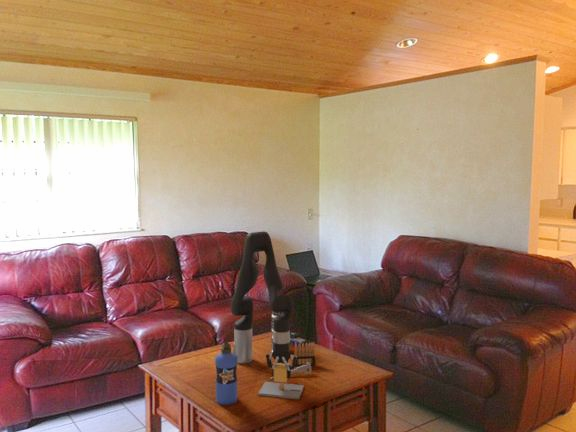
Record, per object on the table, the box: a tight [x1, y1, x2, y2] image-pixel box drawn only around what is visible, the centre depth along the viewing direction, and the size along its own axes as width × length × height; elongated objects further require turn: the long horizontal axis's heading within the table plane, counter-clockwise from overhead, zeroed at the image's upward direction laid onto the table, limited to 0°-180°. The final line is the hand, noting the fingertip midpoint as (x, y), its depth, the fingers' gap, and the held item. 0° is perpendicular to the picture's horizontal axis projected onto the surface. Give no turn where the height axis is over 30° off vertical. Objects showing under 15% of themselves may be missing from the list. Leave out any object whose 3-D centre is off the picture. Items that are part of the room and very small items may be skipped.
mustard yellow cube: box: [273, 363, 289, 383], centre depth 220 cm, size 6×6×6 cm
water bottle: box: [214, 341, 238, 406], centre depth 211 cm, size 9×9×25 cm
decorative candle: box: [270, 310, 281, 353], centre depth 269 cm, size 9×9×25 cm
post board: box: [257, 381, 305, 400], centre depth 220 cm, size 18×12×6 cm, turn 78°
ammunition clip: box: [293, 341, 316, 368], centre depth 249 cm, size 11×2×12 cm, turn 98°
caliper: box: [270, 362, 312, 380], centre depth 236 cm, size 20×1×6 cm, turn 108°
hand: (281, 377), depth 220 cm, fingers closed on mustard yellow cube, 5 cm apart
